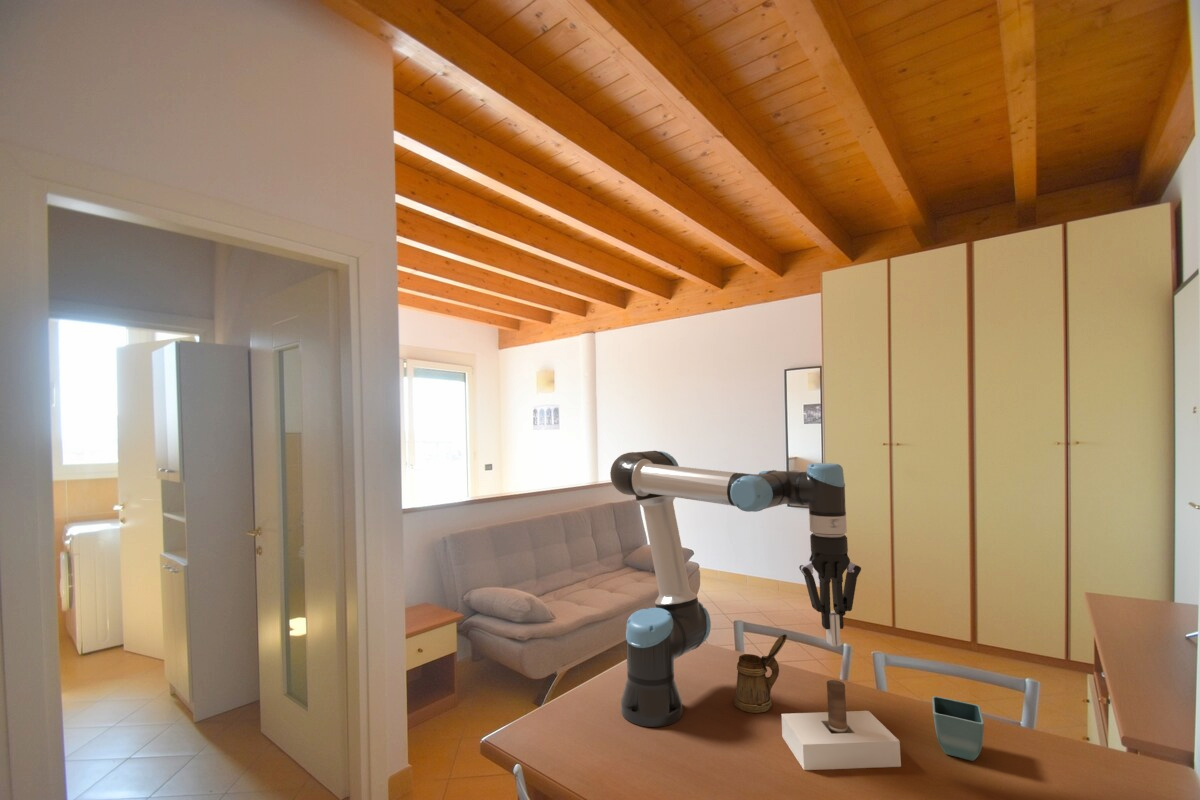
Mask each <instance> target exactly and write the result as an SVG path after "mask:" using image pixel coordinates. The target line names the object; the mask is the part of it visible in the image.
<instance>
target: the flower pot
mask: <svg viewBox="0 0 1200 800" xmlns="http://www.w3.org/2000/svg"><path fill="white" fill-rule="evenodd" d="M931 698H932V699H931V700H932V702H931V703H932V714H933V716H932V717H933V720H934V729H935V734H936V737H937V742H938V744H939V745H940V748H941V750H943V752H944V754H945V755H949V756H952V757H956V758H959V759H964V760H967V761H972V762H973V761H974V762H975V760H976V759H977V758H978V757H979V756H980V754H981V751H982V748H983V743H984V742H983V741H984V728H985V722H984V718H983V715H982V709H981V706H980V705H979V704H974V703H970V702H964V701H959V700H955V699H951V698H945V697H941V696H934V695H933V696H931Z"/></svg>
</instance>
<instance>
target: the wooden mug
mask: <svg viewBox="0 0 1200 800" xmlns="http://www.w3.org/2000/svg"><path fill="white" fill-rule="evenodd" d="M787 639H788V635H787V634H786V633H785V634H782V635H780V636H779V637H778V638H777V639H776V640H775V642H774V644H773V645H772V647H771V648H770V650H769V653H768V655H762V656H759V655H756V654H751V653H747V654H746V653H744V654H742V655H739V656H738V662H737V664H736V670H737V677H736V678H737V679H736V689H735V690H736V691H735V694H734V700H733V702H734V705H735V706H736V708H738V709H739V710H741V711H744V712H746V713H752V714H753V713H754V714H759V713H765V712H768V711H769V710H770V709H771V708H772V705H773V702H772V697H771V693H772V692H771V691H772V688H773V686H774V684H775V683H776V682H777V679H778V677H779V672H780V667H779V663H778V661H777V660H776V658H775V657H776V656H777V654H779V652H780V651H781V649H782V648H783V647H784V645H785V643H786V641H787ZM768 667H769V669H770V670H771V674H770V676H766V673H767V672H768Z"/></svg>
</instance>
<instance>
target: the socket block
mask: <svg viewBox="0 0 1200 800" xmlns="http://www.w3.org/2000/svg"><path fill="white" fill-rule="evenodd" d="M780 715H781V735H782V739H783V740H784V742H785V743H786V745H787V746H788V748H789V749H790V751H791V752H792V754H793V755H794V757H795V758H796V760H797V762H798V763H799V764H800V766H801V767H802V769H803V770H804V771H814V770H815V771H816V770H817V771H820V770H822V771H823V770H843V769H844V770H845V769H850V770H851V769H867V768H868V769H870V768H871V769H873V768H900V767H902V762H901V758H902V757H901V745H900V744H901V742H900V740H899V738H897V737H896V736H895V735H894V734H893V733H892V732H891V731H890V730H889V729H888V728H887V727H886V726H885V725H884V724H883V723H882V722H881V721H879V719H878V718H877V717H876V716H875V715H873V714H872V712H870V711H869V710H857V711H855V710H852V711H851V710H850V711H846V718H847V733H836V734H831V733H830V731H829V720H828V711H825V712H822V711H821V712H795V713H781V714H780Z"/></svg>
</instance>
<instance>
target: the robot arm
mask: <svg viewBox="0 0 1200 800" xmlns="http://www.w3.org/2000/svg"><path fill="white" fill-rule="evenodd" d="M609 474H610V481H611V483H612V485H613V487H614V488H615V489H616V490H617V491H618V492H619V493H621V494H622V495H623V494H624V495H627V496H635V501H636V503H637V504H638V505H640V506H642V507H641V508H643V509H642V510H643V516H644V519H645V524H646V531H647V536H648V537H647V538H648V541H649V546H650V551H651V552H650V553H651V557H652V564H653V568H654V573H655V579H656V584H657V589H658V596H657V598H656V599H655V601H654V604H655V607H648V608H641V609H638V610H636V611H634V612H632V613H631V615H630V616H629V617H628V619H627V621H626V630H625V641H626V667H627V669H626V670H627V672H626V673H627V674H626V675H627V679H626V682H625V687H624V689H623V693H622V697H621V701H620V708H621V709H620V710H621V715H622V716H623V717H624V719H625V720H627V721H628V722H630V723H632V724H635V725H637V726H641V727H648V728H660V727H664V726H665V727H666V726H668V725H672V724H674V723H676V722H678V721H679V720H680V719H681V717H682V716H683V702H682V697H681V695H680V692H679V689H678V685H677V684H676V683H677V682H676V680H675V665H674V664H675V663H674V662H675V661H674V660H676V659H677V658H680V657H681V656H683V655H685V654H687V653H689V652H690V651H694V650H696V649H697V648H699V647H700V646H701V645H702V644H703V643H704V642H706V641H707V639H708V638H709V635H710V633H711V627H712V624H711V623H712V622H711V617H710V614H709V611H708V609H707V607H704V605H703V604H702V602H700V601H699V598H698V595H697V593H695V592H694V591H692V589H691V588H690V582H689V577H688V573H687V572H688V570H687V567H686V562H685V556H684V552H683V546H682V541H681V536H680V530H679V525H678V521H677V516H676V511H675V506H674V500H675V499H676V498H677V499H684V500H685V499H686V500H692V501H698V502H706V503H713V504H719V505H725V506H733V507H737V508H738V509H739V510H740V511H743V512H746V513H747V512H750V513H751V512H753V513H755V512H761V511H763V510H766V509H769V508H773V507H778V506H782V505H797V506H798V505H801V506H808V516H809V519H808V520H809V531H810V533H811V534H810V536H809V541H810V553H811V554H810V556H809V561H808V562H807V563H806V564H805V565H803V564H801V565H799V567H798V568H799V570H800V572H801V574H802V575H803V576H804V580H805V585H806V588H807V592H808V596H809V600H810V603H811V607H812V608H813V609H814V610H816V611H817V612H818V613H821V614H820V615H821V616H820V617H821V626H822V628H823V629H825V634H826V635H825V636H826V638H825V639H826V640H825V641H826V642H827V643H828V645H830V646H831V647H836V646H837V647H841V646H842V645H841V644H842V643H841V630H843V629H844V627H845V626H844V616H846V613H847V612H850V611H852V609H853V604H854V599H855V592H856V585H857V581H858V577H859V575H860V573H861V571H862V567H861V566H859V565H857V564H855V563H853V562H851V559H850V556H848V552H849V549H848V548H849V546H848V545H849V544H848V537H847V536H846V535H845V534H847V532H848V530H847V529H848V528H847V512H846V483H845V476H844V475H845V474H844V469H843V466H842V465H840V464H839V463H832V462H831V463H830V462H829V463H828V462H824V463H821V462H816V463H815V462H814V463H809V464H807V466H806V471H787V470H786V471H785V470H776V469H775V470H774V469H773V470H762V471H760V472H759V473H757V474H755V473H753V474H752V473H743V472H734V471H726V470H725V471H724V470H723V471H722V470H715V469H714V470H712V469H707V468H705V469H704V468H697V467H695V468H694V467H686V466H680V465H679V464H678V462H677V460H676V459H675V458H674V457H673V455H671V454H669V453H668V452H665V451H661V450H659V451H658V450H649V451H648V450H647V451H637V452H633V451H630V452H626V453H623V454H621V455H619V456H618V457H617V458H616V459H615V460H614V462H613V463H612V465H611V467H610V473H609ZM813 569H814V570H815V572H816V573H817V574H818V575H817V578H818V580H819V581H818V583H819V591H818V588H817V585H816V581H815V577H814V575H813V574H814V570H813ZM845 571H846V574H845V579H844V577H843V574H844V573H845ZM843 582H844V586H843ZM831 593H832V606H833V608H832V609H833V610H831Z"/></svg>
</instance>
